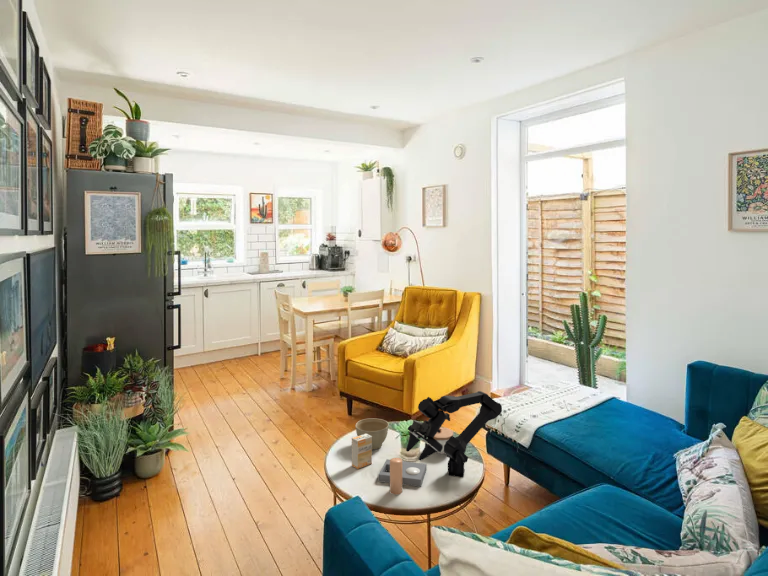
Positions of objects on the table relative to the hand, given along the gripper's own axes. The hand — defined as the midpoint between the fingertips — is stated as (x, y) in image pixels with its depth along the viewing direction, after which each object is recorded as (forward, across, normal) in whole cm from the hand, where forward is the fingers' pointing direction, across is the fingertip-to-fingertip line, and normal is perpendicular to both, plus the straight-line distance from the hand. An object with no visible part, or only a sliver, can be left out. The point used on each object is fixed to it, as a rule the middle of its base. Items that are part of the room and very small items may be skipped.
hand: (412, 455), depth 193 cm
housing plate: (+9, -9, +10) cm, 16 cm away
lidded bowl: (-10, -21, +30) cm, 38 cm away
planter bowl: (+8, -42, +11) cm, 44 cm away
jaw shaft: (+15, 0, +3) cm, 15 cm away
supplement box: (+17, -27, +2) cm, 31 cm away
